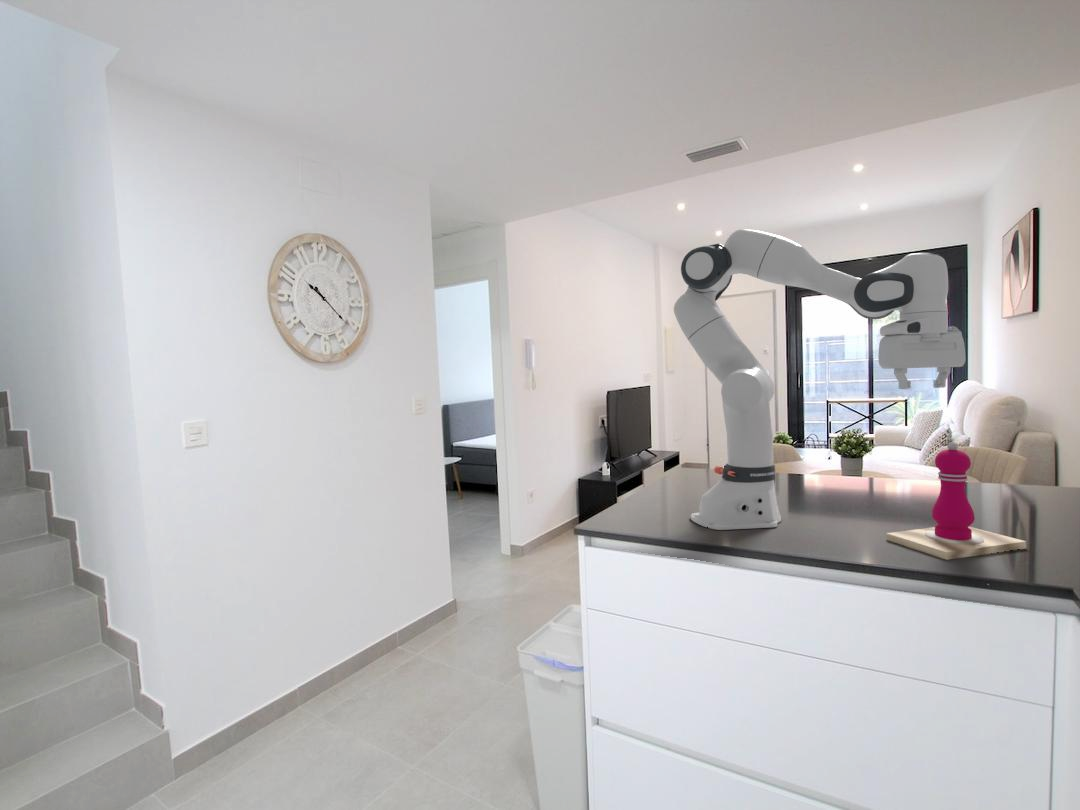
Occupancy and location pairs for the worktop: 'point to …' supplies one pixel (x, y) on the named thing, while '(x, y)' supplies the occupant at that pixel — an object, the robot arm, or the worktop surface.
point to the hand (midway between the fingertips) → (922, 388)
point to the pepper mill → (953, 495)
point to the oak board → (956, 543)
